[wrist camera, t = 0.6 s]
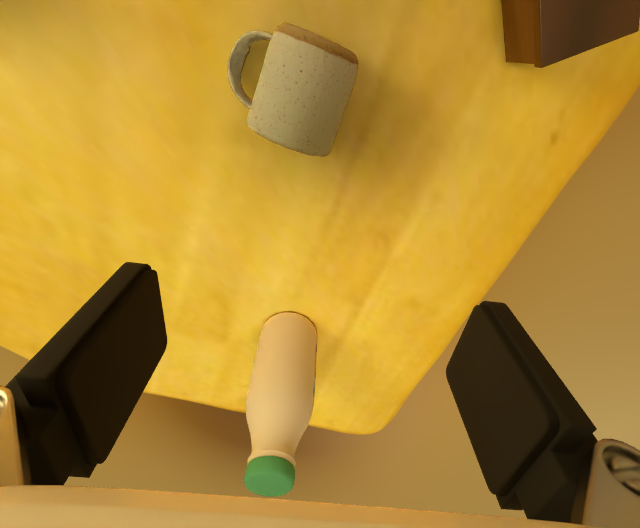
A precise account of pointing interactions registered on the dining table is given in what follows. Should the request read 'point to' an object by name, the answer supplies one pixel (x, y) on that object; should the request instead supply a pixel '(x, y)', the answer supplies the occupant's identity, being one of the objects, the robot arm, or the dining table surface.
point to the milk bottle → (280, 401)
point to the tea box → (564, 27)
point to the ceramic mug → (296, 88)
